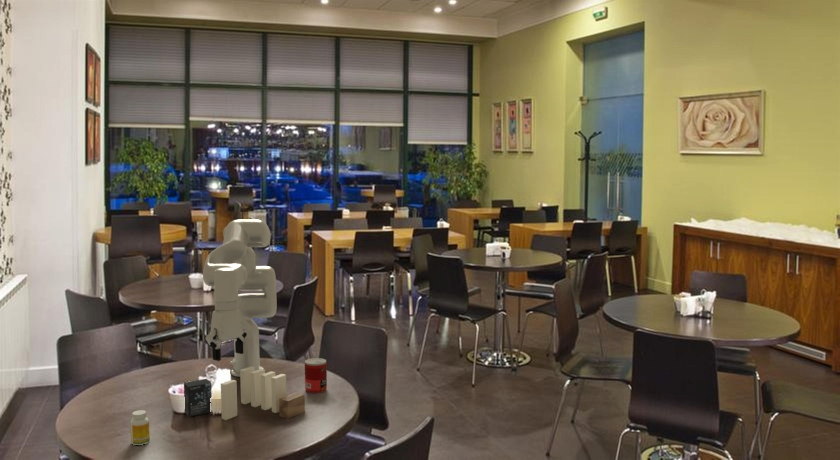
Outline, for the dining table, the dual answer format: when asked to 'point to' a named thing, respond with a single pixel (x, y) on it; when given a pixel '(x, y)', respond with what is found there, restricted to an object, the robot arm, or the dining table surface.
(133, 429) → the supplement bottle
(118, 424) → the dining table surface
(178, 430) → the dining table surface
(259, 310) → the robot arm
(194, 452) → the dining table surface
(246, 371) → the domino
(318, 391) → the canned food
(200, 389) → the box
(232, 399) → the domino
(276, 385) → the domino
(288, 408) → the end block
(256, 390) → the domino
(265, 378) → the domino
